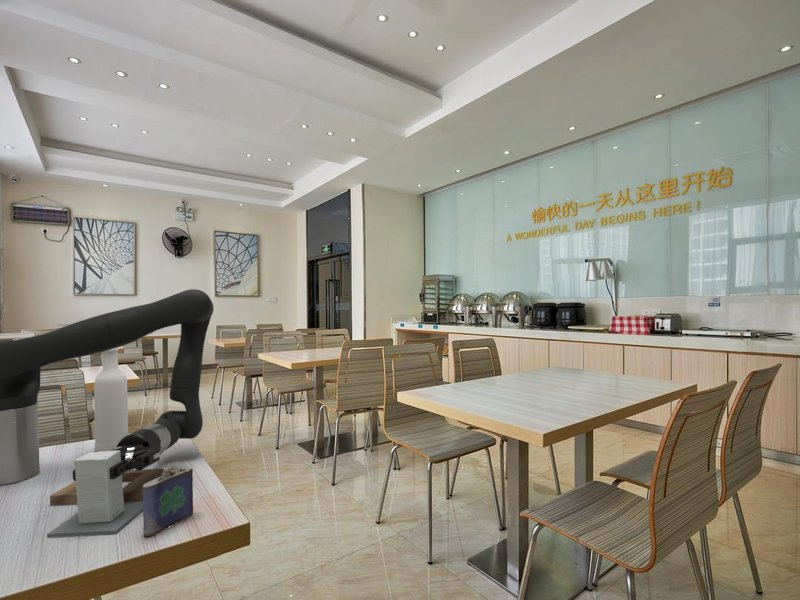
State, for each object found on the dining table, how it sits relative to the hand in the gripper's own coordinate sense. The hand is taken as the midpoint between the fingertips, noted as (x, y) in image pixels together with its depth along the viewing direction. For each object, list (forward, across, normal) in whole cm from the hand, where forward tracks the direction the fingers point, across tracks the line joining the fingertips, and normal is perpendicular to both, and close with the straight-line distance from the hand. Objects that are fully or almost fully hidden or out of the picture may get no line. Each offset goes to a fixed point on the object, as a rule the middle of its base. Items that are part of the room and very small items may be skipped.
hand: (93, 474), depth 78 cm
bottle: (-42, -23, +9) cm, 48 cm away
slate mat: (-3, 0, +10) cm, 10 cm away
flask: (+1, +14, +10) cm, 17 cm away
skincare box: (-2, 0, +9) cm, 9 cm away
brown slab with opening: (-16, -5, +9) cm, 19 cm away
